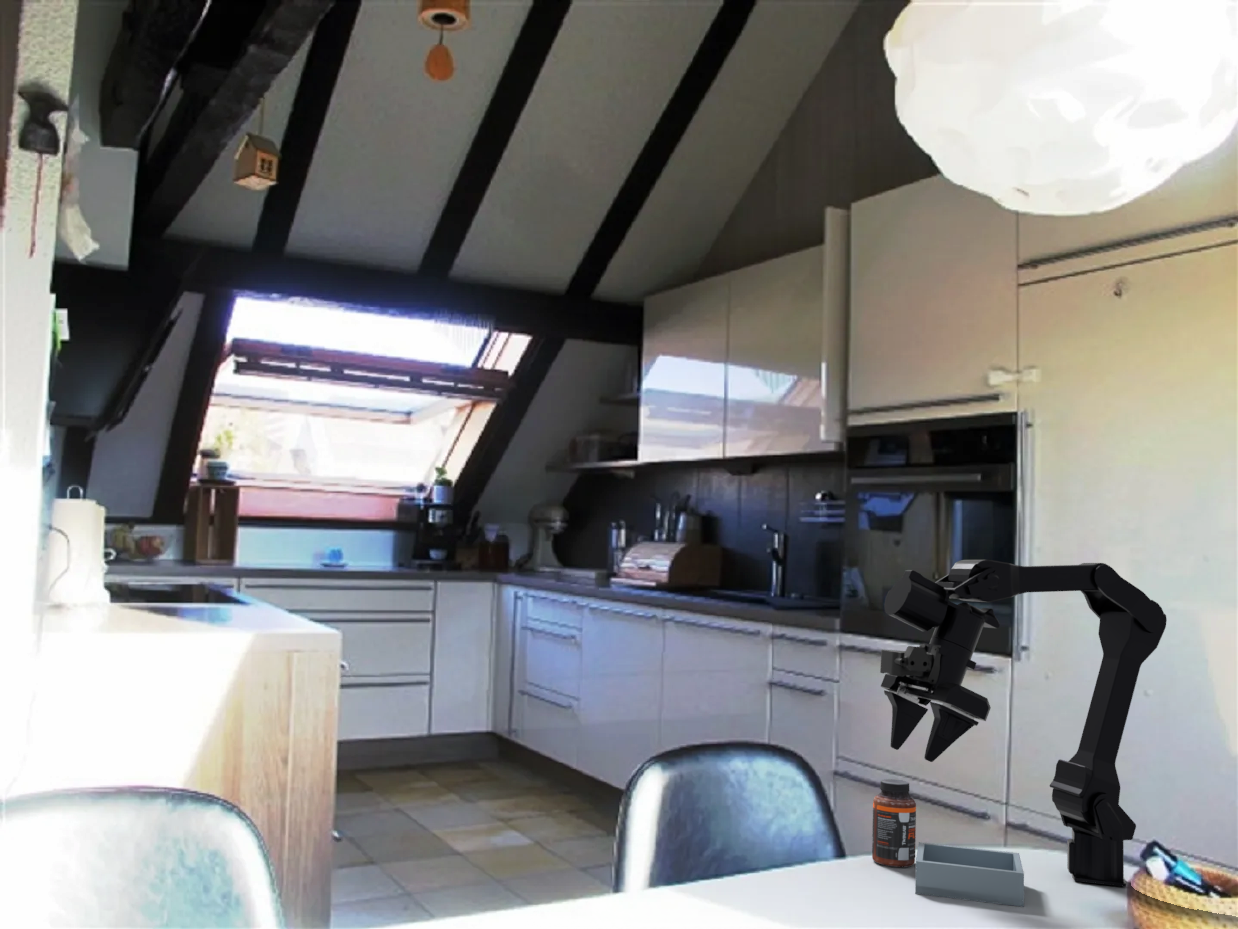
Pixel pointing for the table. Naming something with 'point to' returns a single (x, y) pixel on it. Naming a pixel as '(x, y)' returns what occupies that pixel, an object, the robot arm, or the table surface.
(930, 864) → the tote
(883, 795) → the supplement bottle
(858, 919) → the table surface
